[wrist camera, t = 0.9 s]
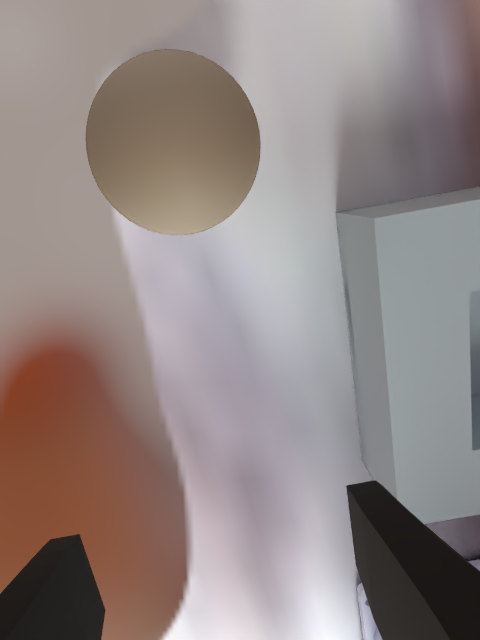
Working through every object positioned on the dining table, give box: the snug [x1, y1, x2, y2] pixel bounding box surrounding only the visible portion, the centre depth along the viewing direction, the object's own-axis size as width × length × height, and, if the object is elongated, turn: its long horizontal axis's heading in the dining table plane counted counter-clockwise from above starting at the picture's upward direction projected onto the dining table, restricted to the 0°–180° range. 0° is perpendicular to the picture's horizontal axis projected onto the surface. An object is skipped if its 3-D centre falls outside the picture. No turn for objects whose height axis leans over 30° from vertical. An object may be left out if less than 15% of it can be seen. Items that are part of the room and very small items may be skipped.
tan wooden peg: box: [86, 49, 260, 235], centre depth 12 cm, size 4×4×7 cm
